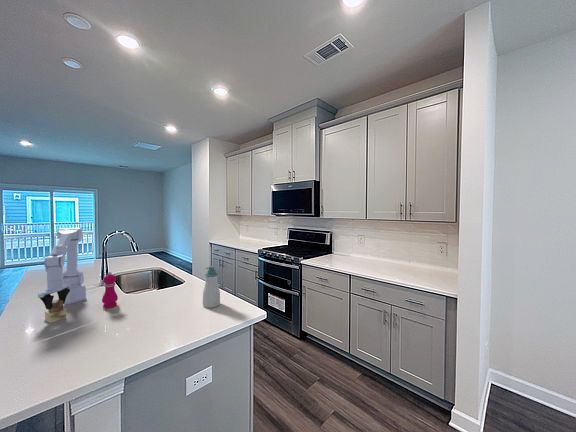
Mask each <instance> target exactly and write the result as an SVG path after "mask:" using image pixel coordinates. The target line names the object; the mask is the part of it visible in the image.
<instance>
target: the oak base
mask: <svg viewBox="0 0 576 432" xmlns="http://www.w3.org/2000/svg"><path fill="white" fill-rule="evenodd" d="M66 316H67V308H64V307H63V310H59V311H56V312H51V311H49V310H48V309H47V310H44V319H46V320H48V321H50V322H51V323H53V322H52V321H54V322H56V321H55V320H57V321H59V320H58V319H60V320H62V319H61V318H63V319H66V318H67V317H66ZM65 317H66V318H65ZM48 321H47V322H48ZM50 322H49V323H50Z"/></svg>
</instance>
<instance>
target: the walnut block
mask: <svg viewBox="0 0 576 432" xmlns="http://www.w3.org/2000/svg"><path fill="white" fill-rule="evenodd" d="M63 308H64V304H63V300H59V298H58V299H53V301H52V309H50V310H49V311H51V312H56V311H59V310H63Z"/></svg>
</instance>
